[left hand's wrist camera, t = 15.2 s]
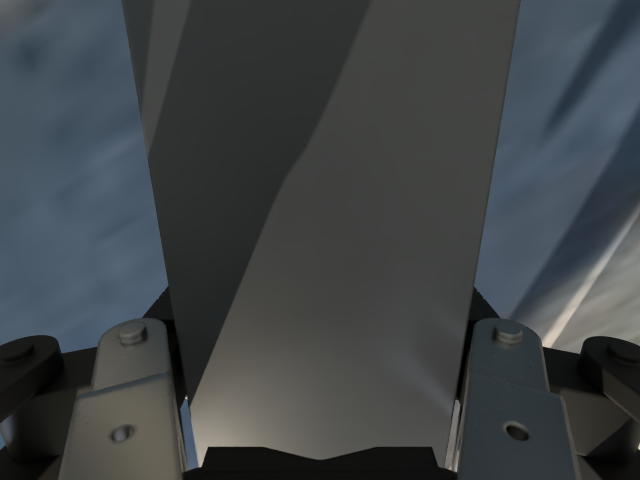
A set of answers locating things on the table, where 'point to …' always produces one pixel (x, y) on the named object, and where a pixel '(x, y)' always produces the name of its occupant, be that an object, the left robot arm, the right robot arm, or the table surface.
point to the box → (321, 208)
